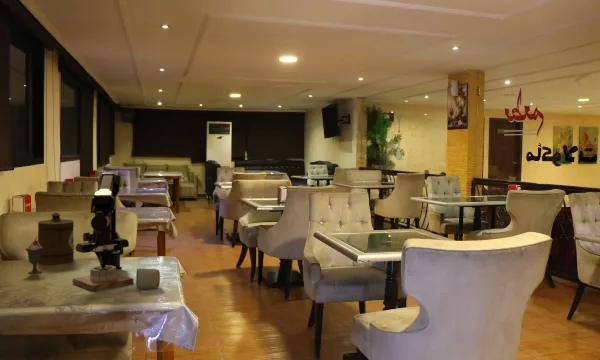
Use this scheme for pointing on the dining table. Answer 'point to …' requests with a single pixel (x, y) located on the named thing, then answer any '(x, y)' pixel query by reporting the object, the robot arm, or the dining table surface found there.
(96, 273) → the brown board with ring
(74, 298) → the dining table surface
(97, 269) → the smooth gray stone
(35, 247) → the sundae
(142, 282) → the ceramic mug
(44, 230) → the wooden container
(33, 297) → the dining table surface
